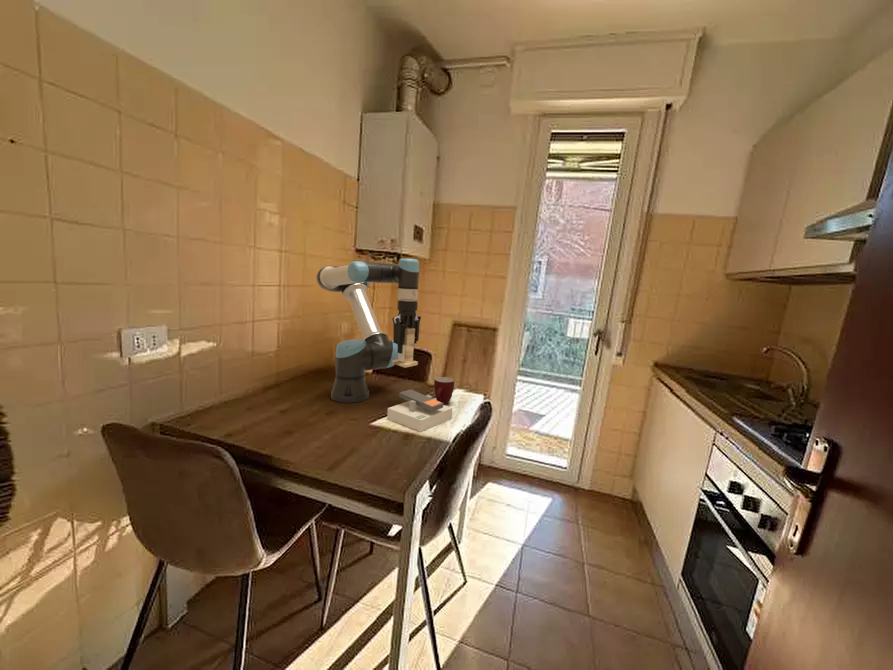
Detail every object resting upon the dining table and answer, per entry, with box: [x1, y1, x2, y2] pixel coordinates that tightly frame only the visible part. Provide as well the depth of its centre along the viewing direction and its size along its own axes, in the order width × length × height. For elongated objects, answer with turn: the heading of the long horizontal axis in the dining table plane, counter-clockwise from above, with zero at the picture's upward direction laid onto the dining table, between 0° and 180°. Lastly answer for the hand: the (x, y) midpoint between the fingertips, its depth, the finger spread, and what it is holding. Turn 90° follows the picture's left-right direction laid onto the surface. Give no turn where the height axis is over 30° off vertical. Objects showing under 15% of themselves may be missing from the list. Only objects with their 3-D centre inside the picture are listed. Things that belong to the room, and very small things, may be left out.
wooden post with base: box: [392, 327, 419, 369], centre depth 146 cm, size 7×7×14 cm
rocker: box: [398, 388, 444, 412], centre depth 135 cm, size 16×6×2 cm, turn 52°
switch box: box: [386, 394, 453, 433], centre depth 136 cm, size 16×17×8 cm
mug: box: [433, 376, 455, 406], centre depth 152 cm, size 11×8×10 cm
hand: (405, 360), depth 147 cm, fingers closed on wooden post with base, 4 cm apart
